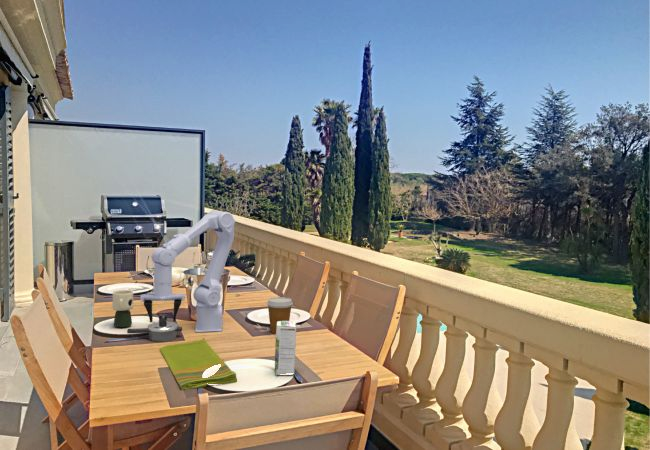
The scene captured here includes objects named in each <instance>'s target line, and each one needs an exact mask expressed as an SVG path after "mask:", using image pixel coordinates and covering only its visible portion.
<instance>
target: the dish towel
mask: <svg viewBox="0 0 650 450" xmlns="http://www.w3.org/2000/svg"><path fill="white" fill-rule="evenodd" d="M159 351H160V353H161V355H162V356H163V358H164V359H165V360H164V361H166V364H167V365H168V367H169V370H170V369H171V370H170V371H171V373H172V375H173V377H174V379H175V380H176V383H177V384H178V386H179V387H180V390H182V389H187V390H193V389H192V388H194V389H200V387H201V388H207V387H206V385H207V383H208V384H222V385H228V384H233V383H237V382H238V377H237V373H236V372H235V371H234V370H233V371H232V370H231V368H230V367H229V366H228V365H227V364H226V363H225V361H224V360H223V359H222V358H221V357H220V355H218V354H217V352H216V351H215V350H214V349H213V348H212V347H211V345H209V343H208V342H207V341H206V339H205V337H204V338H202V339H200V340H195V341H191V342H181V343H175V344H168V345H164V346H161V347H160V348H159ZM218 364H221V367H220V368H219V370H218V371H217V372H216V373H215V374H214V375H212V376H210V377H208V378H202V374H203V372H204V371H205V370H206V369H208V368H210V367H212V366H214V365H218Z"/></svg>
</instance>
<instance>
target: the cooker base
mask: <svg viewBox="0 0 650 450" xmlns="http://www.w3.org/2000/svg"><path fill="white" fill-rule="evenodd" d="M177 332H183V326H178V328H177V329H175V330H172V331H167V332H153V331H149V330H148V327H147V328H146V327H142V328H141V327H139V328H138V327H137V328H127V333H126V334H128V335H129V334H147V333H148V340H150V341H151V342H153V341H154V342H167V341H172V340H174V339H176V338H177Z"/></svg>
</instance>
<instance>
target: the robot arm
mask: <svg viewBox="0 0 650 450" xmlns="http://www.w3.org/2000/svg"><path fill="white" fill-rule="evenodd" d="M235 224H236V220H235V218H234V216H233V214H232V213H231V212H228V211H220V210H219V211H218V210H210V211H209V212H208V213H206V214H205V215H204V216H203V217H202V218H201V219H199V221H198V222H196V223H195V224H194V225H193V226H192V227H191V228H189V229H188V230H187V231H186V232H185V233H178V234H174V235H173V236H172V237H173V238H171V239H170V240H169V241H168V242H166V243H163V244H162V247H157V248H156V249H154V250H153V252H152V255H151V256H150V258H151V260H152V262H153V264H154V267H153V268H154V272H153V273H154V274H153V275H154V278H153V279H154V280H153V281H154V282H153V283H154V288H153V289H154V291H153V294H152V293H151V294H140V303H141V302H142V303H143V305H144V309H145V310H146V312H147V315H148V318H149V323H153V302H166V301H168V302H169V301H173V318H172V319H173V321H172V322H174V323H176V319H177V315H178V311H179V309H180V306H181V305H182V301H185V300H186V299H185V298H186V294H185V293H172V291H173V289H172V287H173V286H172V283H173V281H172V279H173V278H172V275H173V270H172V268H173V267H172V266H173V264H174V263H175V261H176V257H178V256H179V255H180V254H182V253H183V252H185V250H187V249H188V248H190V246H191V241H193V240H195V239H197V237H199V236H200V235H201V234H204V233H205V232H206V231H207V230H213V231H214V232H215V234H216V235H217V241H216V244H215V247H214V250H213V253H212V256H211V259H210V261H209V264H208V268H207V271H206V273H205V275H204V278H202V279H201V280H200V281H199V284H198V285H197V287H195V289H194V291H193V294H192V296H193V299H194V301H196V324H195V326H194V328H195V333H205V332H206V333H207V332H208V333H210V332H223V324H224V322H223V305H222V304H219V302H221V301H220V300H221V291H222V286H221V283H220V280H221V278H222V274H223V272H224V269H225V266H226V262H227V260H228V257H229V254H230V251H231V248H232V245H233V243H234V239H235Z"/></svg>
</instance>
